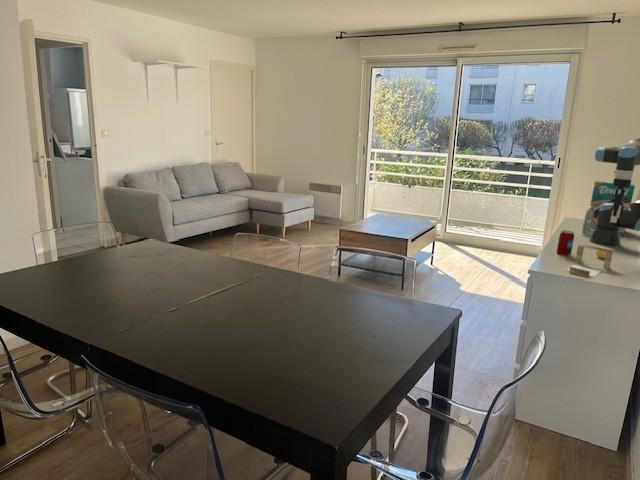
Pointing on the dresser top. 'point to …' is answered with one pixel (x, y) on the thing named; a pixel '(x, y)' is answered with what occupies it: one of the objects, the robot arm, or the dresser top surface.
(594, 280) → the dresser top surface
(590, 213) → the ornament
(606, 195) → the cake mix box
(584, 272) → the wall
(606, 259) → the bridge
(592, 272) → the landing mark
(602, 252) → the ball
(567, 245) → the beverage can
